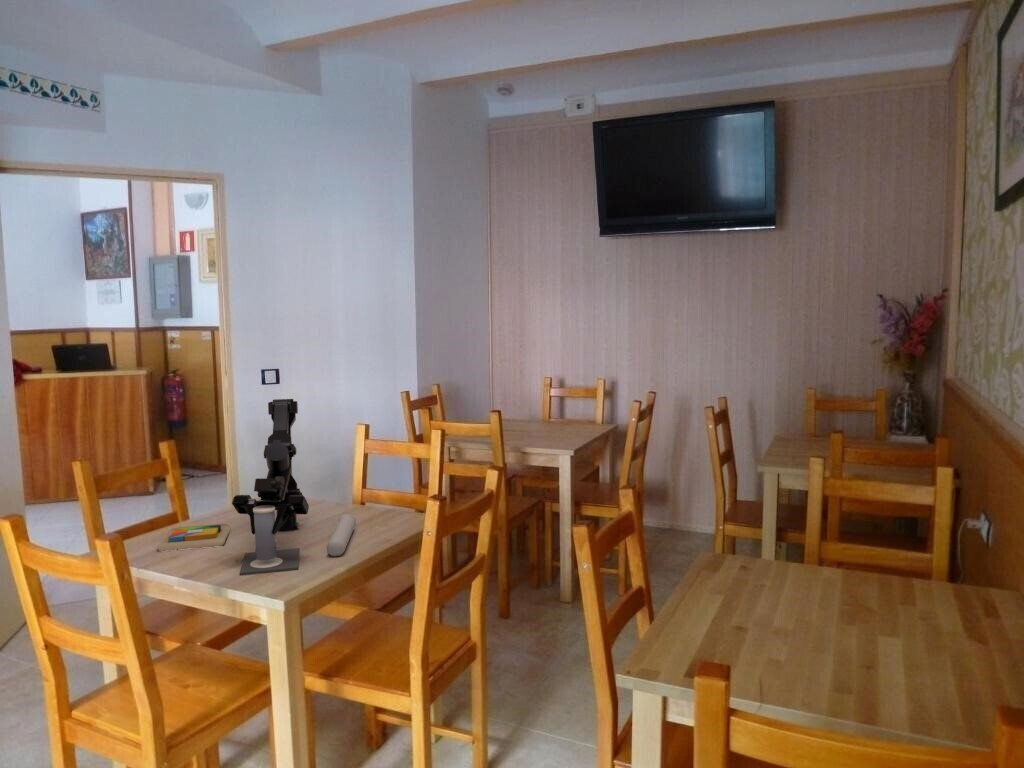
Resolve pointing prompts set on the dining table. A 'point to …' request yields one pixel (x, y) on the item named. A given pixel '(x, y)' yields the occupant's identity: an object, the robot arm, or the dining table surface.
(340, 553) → the tube
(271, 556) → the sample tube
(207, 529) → the wooden puzzle
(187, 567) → the dining table surface
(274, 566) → the mat
